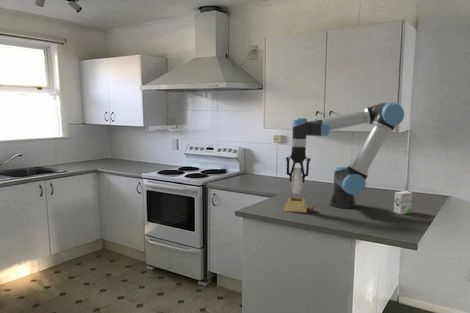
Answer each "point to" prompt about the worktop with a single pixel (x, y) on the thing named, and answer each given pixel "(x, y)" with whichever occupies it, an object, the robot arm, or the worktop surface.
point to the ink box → (402, 202)
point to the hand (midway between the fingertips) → (296, 187)
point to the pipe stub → (296, 180)
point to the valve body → (297, 205)
